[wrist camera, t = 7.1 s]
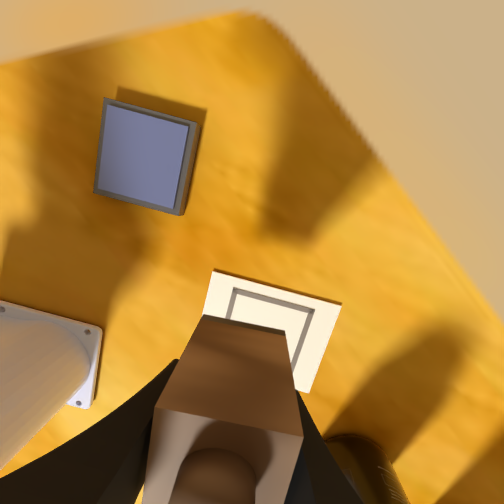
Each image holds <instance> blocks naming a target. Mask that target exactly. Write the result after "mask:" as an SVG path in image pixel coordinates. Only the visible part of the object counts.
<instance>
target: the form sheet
mask: <svg viewBox="0 0 504 504" xmlns="http://www.w3.org/2000/svg"><path fill="white" fill-rule="evenodd" d="M340 309H341V305H337V304H334V303H330V302H326V301H323V300H319V299H315V298H311V297H308V296H304V295H300V294H297V293H293V292H289V291H286V290H282V289H278V288H274V287H271V286H267V285H263V284H260V283H256V282H252V281H249V280H245V279H241V278H237V277H234V276H230V275H226V274H223V273H219V272H215V271H213V272H212V276H211V280H210V284H209V288H208V293H207V297H206V301H205V305H204V309H203V314H206V315H211V316H216V317H221V318H226V319H231V320H236V321H241V322H246V323H251V324H256V325H260V326H265V327H270V328H275V329H280V330H285V334H286V339H287V345H288V351H289V356H290V362H291V368H292V373H293V379H294V385H295V389H296V390H298V391H302V392H306V393H309V391H310V389H311V386H312V383H313V381H314V378H315V375H316V373H317V370H318V367H319V365H320V362H321V359H322V357H323V354H324V351H325V349H326V346H327V344H328V341H329V338H330V336H331V333H332V330H333V328H334V325H335V322H336V320H337V317H338V314H339V312H340ZM203 314H202V315H203Z"/></svg>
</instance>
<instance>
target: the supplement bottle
mask: <svg viewBox="0 0 504 504" xmlns="http://www.w3.org/2000/svg"><path fill="white" fill-rule="evenodd" d="M325 444H326V446H327V447H328V449H329V451H330V452H331V454H332V456H333V458H334V459H335V461H336V462H337V464H338V466H339V467H340V469H341V471H342V472H343V474H344V475H345V477H346V478H347V480H348V481H349V483H350V484H351V486H352V487H353V489H354V490H355V492H356V493H357V495H358V496H359V497H360V499H361V500H362V502H363V503H364V504H410V502H409V500H408V498H407V496H406V494H405V492H404V490H403V488H402V485H401V483H400V481H399V479H398V477H397V475H396V473H395V471H394V469H393V467H392V464H391V462H390V460H389V458H388V457H387V455H386V453H385V452H384V451H383V450H382V449H381V448H380V447H379V446H378V445H377V444H375V443H374V442H372V441H370V440H369V439H366V438H363V437H360V436H354V435H343V436H338V437H334V438H332V439H329V440H327V441H326V442H325Z"/></svg>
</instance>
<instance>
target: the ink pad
mask: <svg viewBox="0 0 504 504" xmlns="http://www.w3.org/2000/svg"><path fill="white" fill-rule="evenodd" d="M200 129H201V127H200V126H199V125H198V123H197V122H193V121H189V120H186V119H182V118H178V117H175V116H171V115H167V114H164V113H160V112H156V111H153V110H149V109H145V108H142V107H138V106H134V105H131V104H127V103H123V102H120V101H116V100H112V99H109V98H105V97H104V101H103V110H102V119H101V128H100V137H99V146H98V155H97V164H96V173H95V181H94V190H93V193H96V194H99V195H103V196H107V197H110V198H114V199H118V200H121V201H125V202H129V203H132V204H136V205H140V206H144V207H147V208H151V209H155V210H158V211H162V212H166V213H169V214H173V215H177V216H181V215H184V210H185V205H186V200H187V195H188V190H189V185H190V180H191V175H192V170H193V165H194V160H195V155H196V150H197V145H198V140H199V135H200Z"/></svg>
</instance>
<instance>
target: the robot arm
mask: <svg viewBox="0 0 504 504" xmlns="http://www.w3.org/2000/svg"><path fill="white" fill-rule="evenodd" d="M88 330H90V332H91V333H90V332H89V331H88ZM101 340H102V329H101V328H100V327H98V326H94V325H91V324H87V323H83V322H80V321H76V320H72V319H68V318H65V317H61V316H57V315H54V314H50V313H46V312H42V311H39V310H35V309H31V308H27V307H24V306H20V305H16V304H13V303H9V302H5V301H1V300H0V470H1V469H2V468H3V467H4V466H5V465H6V464H7V463H8V462H9V461H10V460H11V459H12V458H13V457H14V456H15V455H16V454H17V453H18V452H19V451H20V450H21V449H22V448H23V447H24V446H25V445H26V444H27V443H28V442H29V441H30V440H31V439H32V438H33V437H34V436H35V435H36V434H37V433H38V432H39V431H40V430H41V429H42V428H43V427H44V426H45V425H46V423H47V422H48V421H49V420H50V419H51V418H52V417H53V416H54V415H55V414H56V413H57V412H58V411H59V410H60V409H61V408H62V407H63V406H64V405H65V404H68V405H71V406H75V407H79V408H82V409H88V408H90V406H91V405H92V404H93V398H94V391H95V384H96V377H97V369H98V362H99V355H100V348H101ZM178 361H179V359H174V360H173V361H172V362H171V363H170V364H169V365H168V366H167V367H166V368H165V369H164V370H162V371H161V372H160V373H159V374H158V375H157V376H156V377H155V378H154V379H153V380H152V381H150V382H149V383H148V384H147V385H146V386H144V387H143V388H142V389H141V390H140V391H139V392H137V393H136V394H135V395H134V396H132V397H131V398H130V399H129V400H127V401H126V402H125V403H123V404H122V405H121V406H119V407H118V408H117V409H116V410H114V411H113V412H111V413H110V414H109V415H107V416H106V417H104V418H103V419H102V420H100V421H99V422H97V423H96V424H94V425H93V426H91V427H90V428H88V429H87V430H85V431H84V432H82V433H80V434H79V435H77V436H75V437H74V438H72V439H71V440H69V441H67V442H66V443H64V444H62V445H61V446H59V447H57V448H56V449H54V450H52V451H50V452H49V453H47V454H45V455H43V456H42V457H40V458H38V459H36V460H34V461H32V462H30V463H28V464H27V465H25V466H23V467H21V468H19V469H17V470H15V471H14V472H12V473H10V474H8V475H6V476H4V477H2V478H0V504H134V503H135V501H136V499H137V497H138V494H139V492H140V490H141V488H142V486H143V484H144V482H145V475H146V467H147V460H148V452H149V445H150V437H151V430H152V422H153V415H154V407H155V405H156V403H157V401H158V399H159V397H160V395H161V394H162V392H163V390H164V388H165V386H166V384H167V382H168V380H169V378H170V376H171V375H172V373H173V371H174V369H175V367H176V365H177V363H178ZM295 390H296V389H295ZM296 396H297V402H298V407H299V413H300V419H301V424H302V430H303V436H304V438H303V441H302V445H301V448H300V451H299V455H298V458H297V461H296V465H295V468H294V471H293V474H292V478H291V481H290V484H289V488H288V491H287V494H286V497H285V501H284V504H364V503H363V502H362V500H361V499H360V497H359V496H358V495H357V493H356V492H355V490H354V489H353V487H352V486H351V484H350V483H349V481H348V480H347V478H346V477H345V475H344V474H343V472H342V471H341V469H340V467H339V466H338V464H337V462H336V461H335V459H334V458H333V456H332V454H331V452H330V451H329V449H328V447H327V446H326V444H325V442H324V440H323V438H322V436H321V435H320V433H319V431H318V429H317V427H316V425H315V424H314V422H313V420H312V418H311V416H310V414H309V412H308V410H307V408H306V406H305V404H304V402H303V400H302V398H301V396H300V394H299V392H298V390H296Z"/></svg>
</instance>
